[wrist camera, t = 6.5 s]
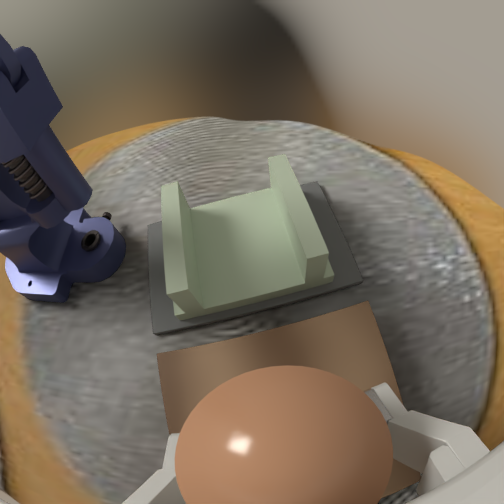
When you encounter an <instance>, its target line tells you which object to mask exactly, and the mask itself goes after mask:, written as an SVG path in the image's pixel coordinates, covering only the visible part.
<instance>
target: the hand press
mask: <svg viewBox="0 0 504 504" xmlns="http://www.w3.org/2000/svg"><path fill="white" fill-rule="evenodd" d="M62 107H63V106H62V104H61V103H60V101H59V99H58V97H57V95H56V93H55V92H54V90H53V88H52V86H51V84H50V82H49V80H48V78H47V76H46V74H45V73H44V71H43V68H42V67H41V64H40V63H39V60H38V59H37V56H36V54H35V53H34V52H33V51H32V50H31V49H30V48H28V47H24V46H22V47H19V48H16V49H14V50H13V49H12V48H11V46H10V45H9V44H8V42H7V41H6V40H5V39H4V38H3V37H2V36H1V34H0V252H1V253H2V254H3V255H4V256H6V263H5V269H6V273H7V275H8V277H9V280H10V282H11V284H12V286H13V288H14V289H15V290H16V291H17V292H19V293H20V294H22V295H23V296H25V297H26V298H28V299H31V300H36V301H48V302H61V303H64V302H66V301H67V299H68V297H69V292H70V289H71V286H72V284H73V283H75V282H99V281H103V280H105V279H107V278H109V277H110V276H111V275H112V274H113V273H114V272H115V271H117V269H118V268H119V266H120V265H121V263H122V261H123V259H124V256H125V251H126V244H125V240H124V238H123V237H122V235H121V234H120V233H119V232H118V230H117V229H116V228H115V227H114V226H113V224H112V223H111V222H110V221H109V220H110V219H111V214H110V213H108V212H105V213H104V214H103V217H95V218H91V217H90V216H89V214H88V213H87V212H86V211H85V210H84V208H83V207H84V206H85V205H86V204H87V202H88V201H89V199H90V197H91V195H92V188H91V187H90V186H89V184H88V183H87V181H86V180H85V179H84V177H83V176H82V174H81V173H80V172H79V170H78V169H77V167H76V166H75V164H74V163H73V161H72V160H71V158H70V157H69V155H68V154H67V152H66V151H65V149H64V148H63V147H62V145H61V143H60V142H59V140H58V139H57V137H56V136H55V134H54V133H53V131H52V129H51V128H50V126H49V124H50V122H51V121H52V120H53V119H54V117H55V116H56V115H57V113H58V112H59V111H60V110H61V109H62Z"/></svg>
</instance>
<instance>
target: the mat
mask: <svg viewBox="0 0 504 504" xmlns="http://www.w3.org/2000/svg"><path fill="white" fill-rule="evenodd" d="M300 187H301V189H302V191H303V194H304V196H305V198H306V200H307V202H308V205H309V207H310V209H311V212H312V214H313V216H314V218H315V221H316V223H317V225H318V228H319V230H320V232H321V235H322V237H323V240H324V242H325V244H326V247H327V249H328V252H329V255H328V260H329V262H330V265H331V267H332V270H333V273H334V278H333V282H330V283H327V284H323V285H320V286H316V287H313V288H309V289H306V290H302V291H298V292H295V293H291V294H287V295H284V296H280V297H276V298H272V299H268V300H265V301H261V302H257V303H253V304H249V305H245V306H241V307H237V308H233V309H228V310H224V311H220V312H216V313H211V314H207V315H203V316H198V317H194V318H189V319H185V320H179V319H178V318H177V317H176V316H175V314H174V306H173V300H172V299H171V298H170V297H169V296H168V295H167V293H166V281H165V269H164V254H163V235H162V221H160V222H157V223H153V224H150V225H148V264H149V286H150V302H151V315H152V327H153V334H155V335H159V334H164V333H169V332H174V331H178V330H183V329H188V328H193V327H197V326H202V325H206V324H211V323H215V322H219V321H224V320H228V319H232V318H236V317H241V316H245V315H249V314H253V313H257V312H261V311H265V310H268V309H272V308H276V307H280V306H284V305H287V304H291V303H295V302H298V301H302V300H306V299H309V298H313V297H316V296H320V295H323V294H327V293H330V292H333V291H337V290H340V289H343V288H347V287H350V286H353V285H356V284H360V283H362V282H363V278H362V276H361V274H360V271H359V269H358V266H357V264H356V262H355V260H354V257H353V255H352V253H351V250H350V248H349V246H348V244H347V242H346V239H345V237H344V235H343V233H342V231H341V228H340V226H339V224H338V222H337V220H336V218H335V216H334V214H333V212H332V210H331V207H330V205H329V203H328V201H327V199H326V197H325V195H324V193H323V191H322V189H321V187H320V185H319V184H318V182H317V181H316V182H312V183H307V184H303V185H300Z"/></svg>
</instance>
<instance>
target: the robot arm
mask: <svg viewBox="0 0 504 504" xmlns="http://www.w3.org/2000/svg"><path fill="white" fill-rule="evenodd" d="M363 392H364V393H365V394H366V395H367V396H368V397H369V398H370V399H371V400H372V401H373V402H374V403H375V405H376V406H377V407H378V409H379V410H380V411H381V413H382V415H383V417H384V419H385V421H386V423H387V425H388V428H389V431H390V434H391V439H392V445H393V458H394V459H395V460H397V461H399V462H401V463H403V464H405V465H407V466H409V467H411V468H412V469H414V470H416V471H418V472H420V473H422V477H421V479H420V482H419V484H418V486H417V488H416V492H417V494H418V495H419V497H417V498H415V499H413V500H411V501H409V502H407V503H405V504H504V441H503V442H502V443H500V444H499V445H498V446H497V447H495V448H494V449H493V450H492V451H489V449H488V448H487V447H486V446H485V445H484V443H483V442H482V441H481V440H480V439H479V437H478V436H477V435H476V434H475V433H474V431H473V430H472V429H471V428H470V427H467V426H463V425H459V424H456V423H452V422H449V421H445V420H442V419H439V418H435V417H432V416H429V415H426V414H423V413H420V412H416V411H413V410H411V411H407V410H406V408H405V407H404V406H403V404H402V403H401V401H400V400H399V399H398V397H397V396H396V395H395V393H394V392H393V391H392V389H391V388H390V386H389V385H388V384H387V383H382V384H380V385H377V386H375V387H372V388H369V389H367V390H364V391H363ZM179 434H180V433H173V434H171V435H170V436H169V438H168V442H167V447H166V452H165V457H164V462H163V468H162V469H159V470H157V471H156V472H155V473H154V474H153V475H152V476H151V477H150V478H149V479H148V480H147V481H146V482H145V483H144V484H143V485H142V486H141V487H139V488H138V489H137V490H136V491H135V492H134V493H133V494H132V495H131V496H130V497H129V498H128V499H126V500H125V501H124V502H123V503H122V504H186V502H185V500H184V499H183V497H182V495H181V492H180V489H179V486H178V483H177V479H176V474H175V451H176V445H177V441H178V437H179ZM0 504H9V503H7V502H5V501H3V500H2V499H0Z"/></svg>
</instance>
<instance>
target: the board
mask: <svg viewBox="0 0 504 504" xmlns="http://www.w3.org/2000/svg"><path fill="white" fill-rule="evenodd" d="M157 360H158V368H159V375H160V382H161V389H162V395H163V401H164V407H165V413H166V419H167V424H168V429H169V434H170V435H171V434H173V433H180V432H181V429H182V427H183V425H184V423H185V421H186V420H187V418H188V416H189V415H190V413H191V412H192V410H193V409H194V408H195V407H196V406H197V404H198V403H199V402H200V401H201V400H202V399H203V398H204V397H205V396H206V395H207V394H208V393H210V392H211V391H213V390H214V389H215V388H217V387H218V386H219V385H221V384H223V383H225V382H226V381H228V380H230V379H232V378H234V377H236V376H239V375H241V374H243V373H246V372H250V371H253V370H256V369H261V368H266V367H272V366H285V365H290V366H304V367H311V368H316V369H320V370H323V371H327V372H330V373H332V374H335V375H337V376H340V377H342V378H344V379H345V380H347V381H349V382H351V383H352V384H354V385H355V386H357V387H358V388H359V389H361V390H362V391H364V390H367V389H369V388H372V387H375V386H377V385H380V384H382V383H387V384H388V385H389V386H390V388H391V389H392V391H393V392H394V393H395V395H396V396H397V397H398V399H399V400H400V401H401V403H402V404H403V402H402V398H401V395H400V391H399V388H398V385H397V382H396V378H395V375H394V372H393V369H392V366H391V363H390V360H389V357H388V354H387V351H386V348H385V345H384V342H383V339H382V336H381V334H380V331H379V328H378V325H377V323H376V320H375V317H374V314H373V312H372V309H371V307H370V304H369V301H365V302H362V303H359V304H356V305H353V306H350V307H347V308H343V309H340V310H337V311H334V312H330V313H327V314H324V315H320V316H317V317H314V318H310V319H307V320H303V321H300V322H296V323H292V324H289V325H285V326H281V327H277V328H274V329H270V330H266V331H262V332H258V333H254V334H250V335H246V336H241V337H237V338H233V339H228V340H224V341H219V342H215V343H210V344H205V345H201V346H196V347H191V348H185V349H180V350H175V351H170V352H164V353H158V354H157ZM403 406H404V405H403ZM420 479H421V476H420V472H418V471H416V470H414V469H412V468H411V467H409V466H407V465H405V464H403V463H401V462H399V461H397V460H395V459H394V458H393V464H392V471H391V475H390V479H389V482H388V485H387V487H386V489H385V491H384V494H383V496H382V497H381V498H384V497H386V496H388V495H391V494H393V493H395V492H397V491H400V490H402V489H404V488H406V487H408V486H410V485H412V484H414V483H416V482H418V481H420Z"/></svg>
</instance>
